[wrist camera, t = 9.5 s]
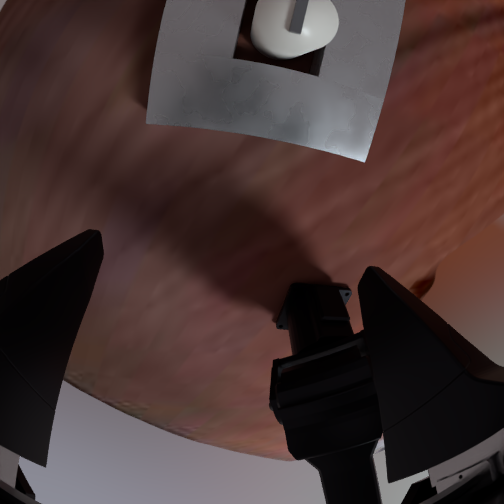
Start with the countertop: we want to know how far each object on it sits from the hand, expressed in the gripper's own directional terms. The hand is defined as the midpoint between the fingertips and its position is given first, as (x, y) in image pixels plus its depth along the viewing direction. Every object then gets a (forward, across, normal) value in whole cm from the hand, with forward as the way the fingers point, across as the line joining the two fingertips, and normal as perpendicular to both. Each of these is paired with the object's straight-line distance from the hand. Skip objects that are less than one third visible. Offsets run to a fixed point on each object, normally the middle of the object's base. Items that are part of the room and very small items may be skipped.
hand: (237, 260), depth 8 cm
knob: (+12, -1, -9) cm, 15 cm away
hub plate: (+12, -1, -9) cm, 15 cm away
